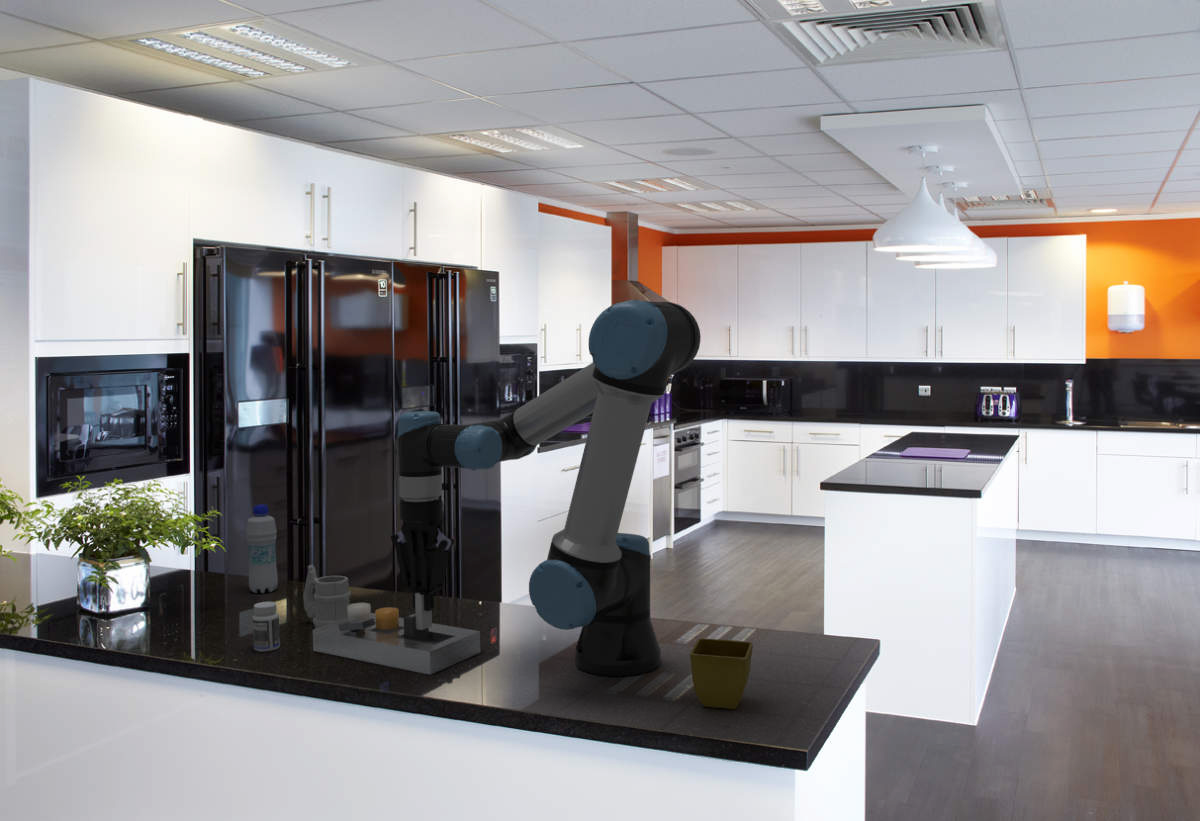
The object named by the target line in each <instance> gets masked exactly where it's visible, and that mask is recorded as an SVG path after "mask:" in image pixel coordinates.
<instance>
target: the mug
mask: <svg viewBox="0 0 1200 821" xmlns="http://www.w3.org/2000/svg"><path fill="white" fill-rule="evenodd" d="M349 587H350V586H349V578H348V577H347V576H343V575H329V576H328V575H327V576H321V577H318V576H317V571H316V567H315V566H314V565H313V564H309V565H308V566H307V575H306V580H305V585H304V592H303V593H302V594H303V595H302V596H303V598H302V599H303V608H304V611H305V612H306V614H307V617H308V619H309V618H310V619H311V618H312V624H313V625H314V629H316V628H319V627H322V626H325V625H328V624H331V623H334V622H337V621H340V620H343V619H346V618H348V608H347V606H348V605H350V604H351V603H350V602H351V600H350V598H351V595H352V593H351V591H350V588H349ZM313 590H314V594H313Z"/></svg>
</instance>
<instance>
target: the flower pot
mask: <svg viewBox="0 0 1200 821" xmlns="http://www.w3.org/2000/svg"><path fill="white" fill-rule="evenodd" d="M753 646H754V643H753V642H751V641H743V640H730V639H720V638H718V639H717V638H714V639H713V638H700V637H699V638H698V639H697V640H696V643H695V644H694V646H693V648H692V649H691V651H690V653H689V656H690V657H689V658H690V666H691V675H692V684H693V687H694V691H695V694H696V696H697V698H698V700H699V702H700V703H701V705H702V706H703V707H707V708H716V709H719V708H720V709H728V710H736V709H737V708H738V706H739V703H740V701H741V699H742V698H743V695H744V691H745V688H746V686H747V683H748V680H749V677H750V676H749V675H750V671H751V665H752V664H751V662H752V654H753Z"/></svg>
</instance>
